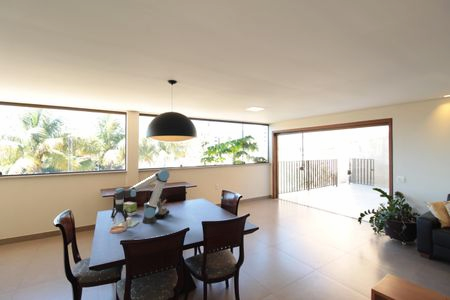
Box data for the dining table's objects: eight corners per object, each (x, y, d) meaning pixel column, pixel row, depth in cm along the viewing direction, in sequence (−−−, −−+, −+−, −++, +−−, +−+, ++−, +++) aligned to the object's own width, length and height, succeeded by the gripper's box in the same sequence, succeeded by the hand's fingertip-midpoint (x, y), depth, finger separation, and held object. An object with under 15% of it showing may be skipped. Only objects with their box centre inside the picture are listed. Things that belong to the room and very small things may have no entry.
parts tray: (138, 222, 239) (138, 221, 239) (132, 227, 224) (132, 226, 224) (121, 222, 240) (121, 221, 240) (113, 227, 225) (113, 225, 225)
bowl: (128, 227, 223) (128, 225, 223) (121, 233, 208) (121, 231, 208) (115, 227, 224) (115, 225, 224) (106, 232, 209) (106, 230, 209)
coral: (163, 219, 251) (163, 201, 251) (146, 219, 252) (146, 201, 252) (169, 213, 276) (169, 196, 276) (154, 212, 277) (154, 196, 277)
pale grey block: (127, 224, 231) (127, 219, 231) (125, 226, 226) (125, 220, 226) (123, 224, 231) (123, 219, 231) (121, 226, 226) (121, 220, 226)
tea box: (122, 214, 270) (122, 203, 270) (128, 212, 279) (128, 201, 279) (130, 216, 264) (130, 204, 264) (136, 213, 273) (136, 202, 273)
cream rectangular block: (130, 222, 238) (130, 217, 238) (129, 224, 233) (129, 218, 233) (127, 222, 238) (127, 217, 238) (125, 224, 233) (125, 218, 233)
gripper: (131, 202, 222) (131, 223, 222) (111, 202, 224) (111, 223, 223) (128, 204, 215) (128, 225, 215) (106, 204, 216) (106, 225, 216)
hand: (119, 224), depth 219 cm, fingers open, 10 cm apart
